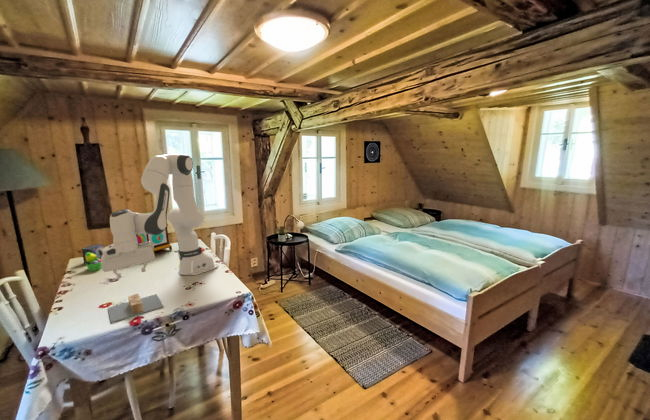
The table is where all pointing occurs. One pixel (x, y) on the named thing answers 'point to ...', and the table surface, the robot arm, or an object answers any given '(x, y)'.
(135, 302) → the oak post
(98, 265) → the fruit basket
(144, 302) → the slate mat
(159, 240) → the decorative lantern
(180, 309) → the table surface
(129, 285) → the table surface
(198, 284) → the table surface
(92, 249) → the small box
